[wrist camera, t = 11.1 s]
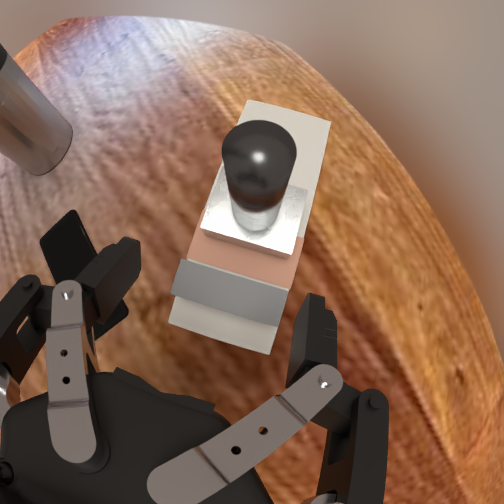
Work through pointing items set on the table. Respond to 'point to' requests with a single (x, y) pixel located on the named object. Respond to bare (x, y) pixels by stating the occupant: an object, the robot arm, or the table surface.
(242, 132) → the press jaw
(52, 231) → the smartphone
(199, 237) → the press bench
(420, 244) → the table surface
